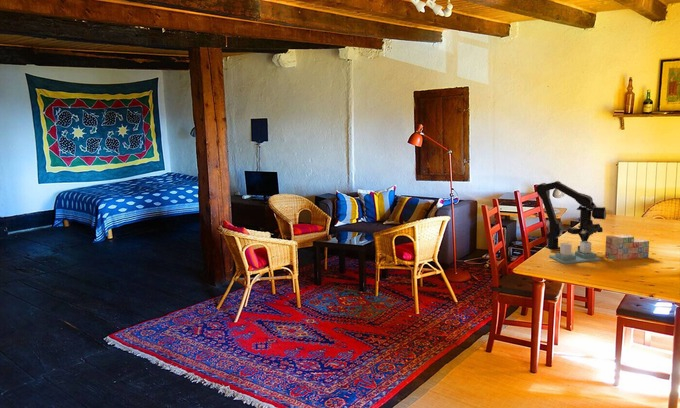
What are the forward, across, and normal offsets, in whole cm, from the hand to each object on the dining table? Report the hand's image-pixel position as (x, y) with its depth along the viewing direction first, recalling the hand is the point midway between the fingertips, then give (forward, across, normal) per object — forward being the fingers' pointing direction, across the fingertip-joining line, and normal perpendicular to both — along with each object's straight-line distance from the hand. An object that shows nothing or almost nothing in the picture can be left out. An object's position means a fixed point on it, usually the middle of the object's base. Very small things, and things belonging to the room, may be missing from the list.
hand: (584, 244), depth 309 cm
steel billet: (+3, -8, -12) cm, 14 cm away
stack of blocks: (+4, +14, -17) cm, 23 cm away
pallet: (+4, -14, -12) cm, 19 cm away
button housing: (+4, 0, 0) cm, 4 cm away
